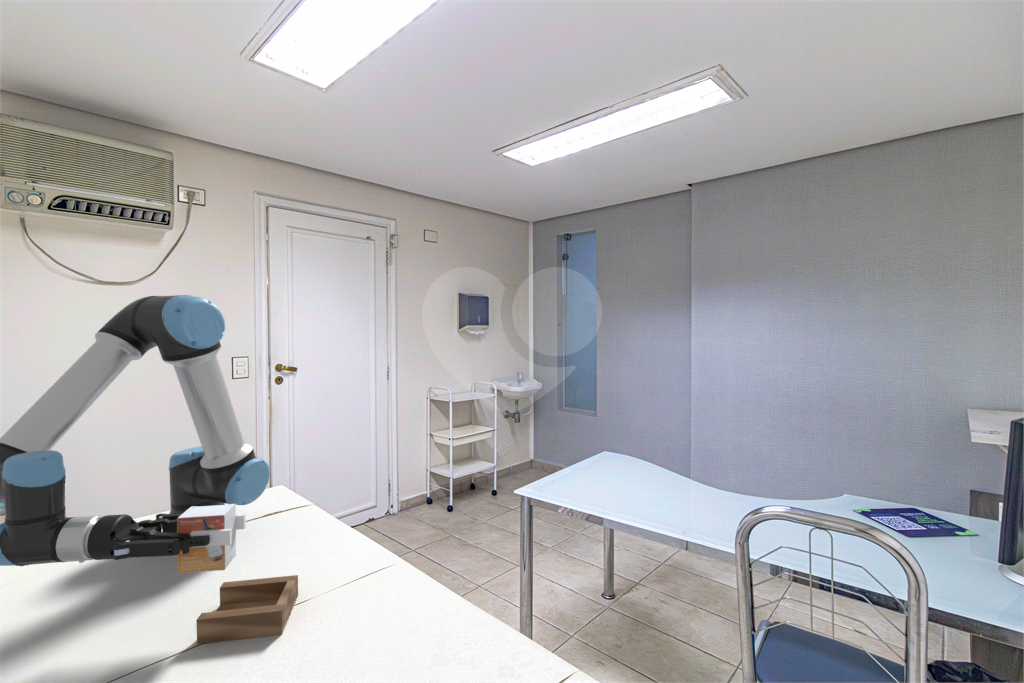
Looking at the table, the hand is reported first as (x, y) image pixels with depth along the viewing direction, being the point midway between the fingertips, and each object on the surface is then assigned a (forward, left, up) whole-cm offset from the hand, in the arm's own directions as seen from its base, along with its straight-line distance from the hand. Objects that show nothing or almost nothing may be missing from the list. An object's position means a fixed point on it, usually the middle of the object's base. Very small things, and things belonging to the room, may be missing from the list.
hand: (237, 528), depth 88 cm
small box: (0, -5, -7) cm, 9 cm away
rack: (0, +2, -18) cm, 18 cm away
